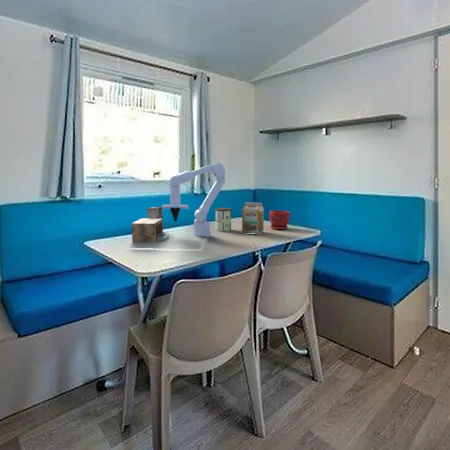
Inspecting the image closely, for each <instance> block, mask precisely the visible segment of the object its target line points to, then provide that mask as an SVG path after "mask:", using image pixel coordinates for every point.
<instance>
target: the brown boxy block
mask: <svg viewBox="0 0 450 450" xmlns="http://www.w3.org/2000/svg"><path fill="white" fill-rule="evenodd" d="M163 220H164V218H163V219H154V218H147V217H146V218H145V217H144V218H143V217H142V218H139V219H138V220H135V221H134V222H132V223H131V235H132V238H131V239H132V240H131V242H132V243H151V244H152V243H154V244H155V243H157V241H156V234H164V223H163V222H164V221H163ZM155 230H156V231H155Z"/></svg>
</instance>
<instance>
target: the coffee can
mask: <svg viewBox="0 0 450 450" xmlns="http://www.w3.org/2000/svg"><path fill="white" fill-rule="evenodd" d="M229 230H230V231H232V208H230V207H216V208H215V231H218V232H230V231H229Z"/></svg>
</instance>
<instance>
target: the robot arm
mask: <svg viewBox="0 0 450 450" xmlns="http://www.w3.org/2000/svg"><path fill="white" fill-rule="evenodd" d="M205 173H206V174H207V173H210V174H211V173H212V175H214V179H215V181H214V183H213V185H212V187H211V189H210V190H209V192H208V194H207V195H206V197H205V199H204V200H203V202H202V203H201V205H200V206H199V208H198V209H196V210H195V212H194V217H195V219H194V220H193V221H194V223H193V229H194V230H193V232H194V233H193V234H194V236H195V237H205V238H210V237H211V221H207V216H208V213H209V210H210V208H211V206H212V205H213V203H214V201H215V200H216V197H217V196H218V194H219V193H220V191H221V189H222V188H223V186H224V185H225V182H226V170H225V167H224V165H223V164H222V163H219V162H217V163H213V164H208V165H205V166H202V167H200V168H198V169H195V170H193V171H191V170H184V172H182V173H179V174H178V173H177V174H176V175H173V176H171V177H170V179H169V184H170V186H169V195H170V196H169V201H170V202H169V204H162V205H161V207H162V209H169V211H170V213H171V216H172V217H173V221H174V222H177V221H178V217H179V213H180V211H181V209H183V210H184V209H185V210H189V205H188V204H181V186H180V185H181V184H182V185H183V184H186V183H188V182H190V181H193V179H194V178H195V177H197V176H200V175H203V174H205Z"/></svg>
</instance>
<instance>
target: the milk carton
mask: <svg viewBox="0 0 450 450" xmlns="http://www.w3.org/2000/svg"><path fill="white" fill-rule="evenodd" d="M264 214H265V209H264V207H263V203H262V202H250V201H248V202H247V201H246V202H244V206H243V208H242V217H241V220H242V221H241V234H242V233H255V234H259V233H261V232H262V231H263V232H264V221H265V219H264V218H265V217H264ZM261 234H262V233H261ZM259 235H260V234H259Z"/></svg>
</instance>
